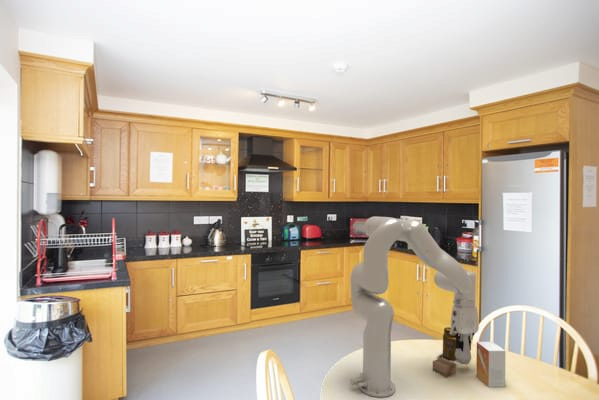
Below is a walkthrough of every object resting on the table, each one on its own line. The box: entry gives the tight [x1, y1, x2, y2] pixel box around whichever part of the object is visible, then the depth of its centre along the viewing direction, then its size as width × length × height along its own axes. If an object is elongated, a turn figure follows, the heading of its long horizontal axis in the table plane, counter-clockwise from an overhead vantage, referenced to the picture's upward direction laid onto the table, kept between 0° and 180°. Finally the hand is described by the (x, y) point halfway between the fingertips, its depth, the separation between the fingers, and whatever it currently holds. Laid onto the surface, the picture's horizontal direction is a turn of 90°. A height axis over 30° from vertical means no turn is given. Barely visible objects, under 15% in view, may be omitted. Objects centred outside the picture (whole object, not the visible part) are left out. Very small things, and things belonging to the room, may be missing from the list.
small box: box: [475, 341, 506, 388], centre depth 126 cm, size 8×6×13 cm
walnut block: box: [432, 358, 457, 378], centre depth 133 cm, size 6×6×4 cm
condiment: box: [436, 326, 458, 364], centre depth 145 cm, size 7×8×12 cm
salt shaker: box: [455, 333, 472, 366], centre depth 135 cm, size 6×6×13 cm
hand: (463, 349), depth 135 cm, fingers closed on salt shaker, 3 cm apart
